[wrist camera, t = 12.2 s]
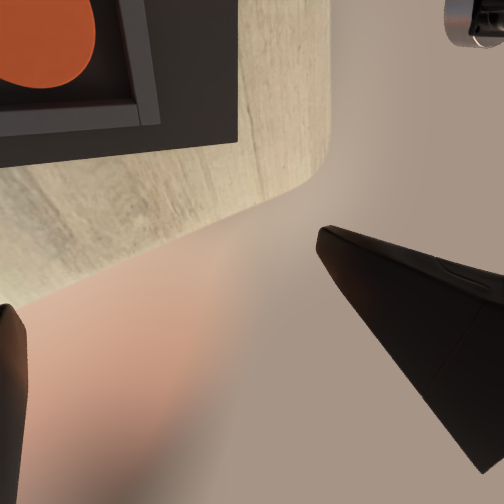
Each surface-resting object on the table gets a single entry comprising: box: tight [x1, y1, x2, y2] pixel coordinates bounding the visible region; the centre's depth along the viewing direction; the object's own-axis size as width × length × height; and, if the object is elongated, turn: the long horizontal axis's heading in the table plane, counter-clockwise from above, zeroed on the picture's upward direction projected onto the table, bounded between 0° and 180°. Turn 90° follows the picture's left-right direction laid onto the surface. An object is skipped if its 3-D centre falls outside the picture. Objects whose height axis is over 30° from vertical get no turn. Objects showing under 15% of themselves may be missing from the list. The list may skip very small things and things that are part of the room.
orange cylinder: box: [0, 0, 95, 88], centre depth 11 cm, size 4×4×5 cm
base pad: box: [0, 0, 238, 168], centre depth 13 cm, size 14×12×2 cm
